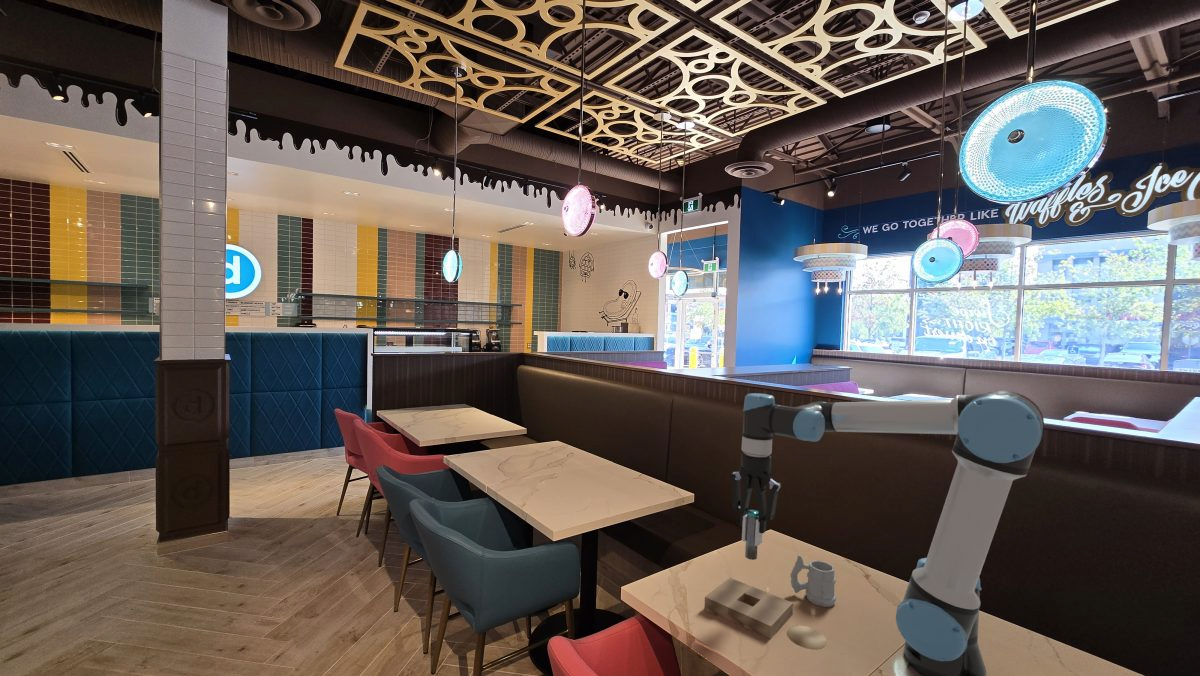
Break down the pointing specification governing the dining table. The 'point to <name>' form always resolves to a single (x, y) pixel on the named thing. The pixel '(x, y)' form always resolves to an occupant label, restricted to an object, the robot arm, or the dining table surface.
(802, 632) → the coaster
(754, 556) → the peg
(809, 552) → the dining table surface
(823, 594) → the mug
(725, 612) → the hole board
